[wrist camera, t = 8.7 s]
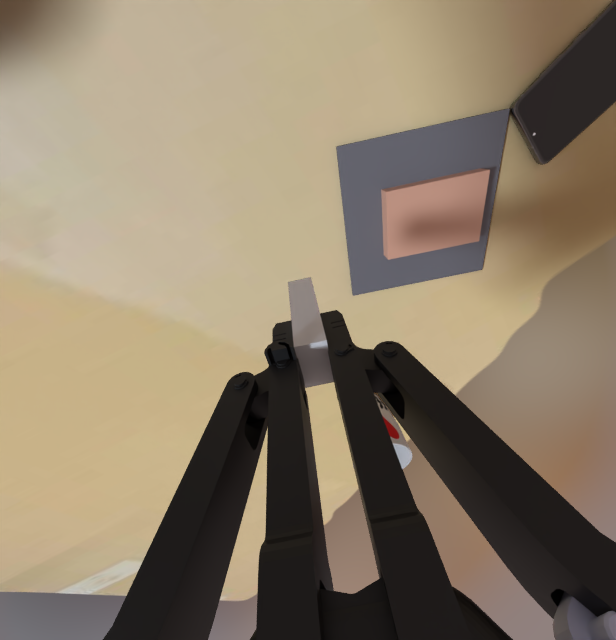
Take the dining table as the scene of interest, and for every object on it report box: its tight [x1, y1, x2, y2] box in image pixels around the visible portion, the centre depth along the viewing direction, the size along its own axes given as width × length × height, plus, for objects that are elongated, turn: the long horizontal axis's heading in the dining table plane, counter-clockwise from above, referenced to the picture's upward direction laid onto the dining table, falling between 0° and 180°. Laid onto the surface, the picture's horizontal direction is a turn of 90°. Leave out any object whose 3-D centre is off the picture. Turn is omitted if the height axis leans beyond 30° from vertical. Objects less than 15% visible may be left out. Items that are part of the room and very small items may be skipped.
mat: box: [336, 108, 510, 296], centre depth 30 cm, size 16×16×1 cm
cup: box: [353, 394, 412, 469], centre depth 42 cm, size 8×8×10 cm
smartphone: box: [510, 0, 616, 165], centre depth 24 cm, size 7×1×16 cm
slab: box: [381, 168, 490, 260], centre depth 29 cm, size 7×2×10 cm
